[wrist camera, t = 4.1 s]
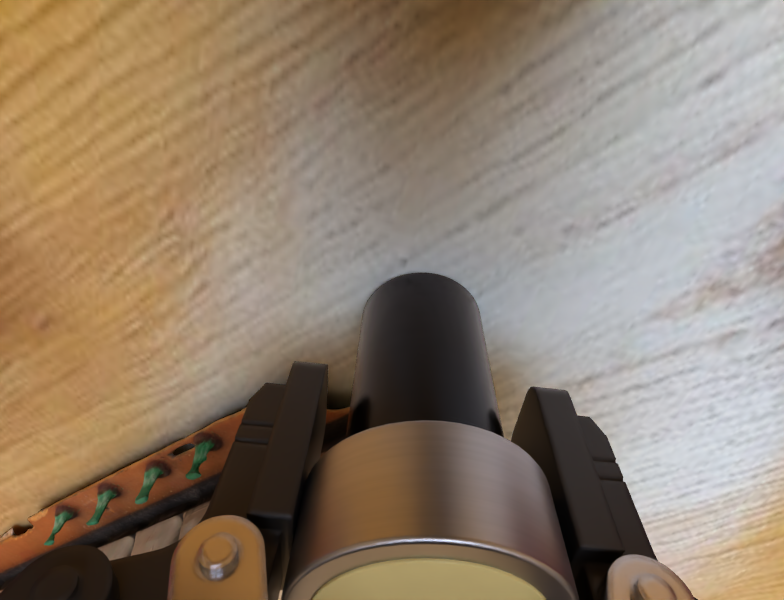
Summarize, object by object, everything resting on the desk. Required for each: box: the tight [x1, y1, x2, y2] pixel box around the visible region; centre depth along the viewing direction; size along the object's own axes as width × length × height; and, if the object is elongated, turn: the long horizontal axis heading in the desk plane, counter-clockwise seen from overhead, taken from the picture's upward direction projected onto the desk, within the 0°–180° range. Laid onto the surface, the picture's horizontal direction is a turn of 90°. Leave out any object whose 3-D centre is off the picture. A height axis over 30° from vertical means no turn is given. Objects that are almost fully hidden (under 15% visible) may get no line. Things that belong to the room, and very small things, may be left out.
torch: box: [281, 273, 579, 600], centre depth 10 cm, size 4×4×8 cm
